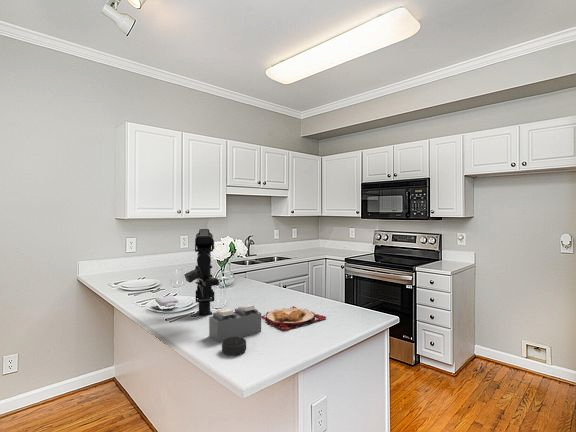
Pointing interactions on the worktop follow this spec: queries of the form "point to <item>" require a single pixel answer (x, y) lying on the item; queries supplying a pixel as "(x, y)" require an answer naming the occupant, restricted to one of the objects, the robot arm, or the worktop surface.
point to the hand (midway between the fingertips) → (204, 298)
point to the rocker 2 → (246, 308)
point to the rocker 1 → (224, 312)
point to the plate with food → (290, 317)
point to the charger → (166, 301)
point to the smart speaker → (234, 346)
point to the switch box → (234, 324)
